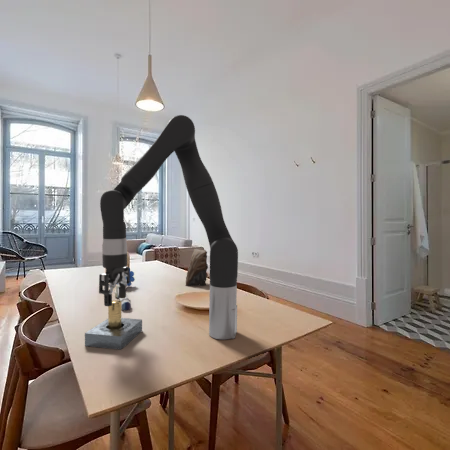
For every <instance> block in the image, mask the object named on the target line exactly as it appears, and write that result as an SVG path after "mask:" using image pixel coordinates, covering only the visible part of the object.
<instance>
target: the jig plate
mask: <svg viewBox="0 0 450 450" xmlns="http://www.w3.org/2000/svg"><path fill="white" fill-rule="evenodd" d="M142 331H143V319H139V318H127V317H121V328H119V329H108V318H106V319H105V320H103V321H102V322H100V323H98V324H97V325H96V326H93V328H92V327H91V329H89V330H87V331H86V332H84V346H85V347H92V348H99V349H102V348H103V349H113V350H121V351H122V349H123V348H125V347H126V346H127V345H128V344H129V343H130V342H131V341H132V340H133V339H135V338H136V337H138V335H140V333H142Z"/></svg>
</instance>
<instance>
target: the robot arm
mask: <svg viewBox="0 0 450 450" xmlns="http://www.w3.org/2000/svg"><path fill="white" fill-rule="evenodd" d="M195 134H196V128H195V123H194V121H193V120H192V118H190V117H189V116H187V115H183V114H179V115H175V116H173V117H171V119H170V120H169V121H168V122H167V124H166V125H165V127H164V128H163V129H162V131H161V133H160V134H159V136H158V137H157V138H156V140H155V141H154V142H153V143H152V145H151V146H150V147H149V148H148V150H146V152H145V153H143V155H142V156H141V157H140V158H139V159H138V160H137V161H136V162H135V163H134V164H133V165H132V166H131V167H130V168H129V169H128V171H126V172H125V173H124V174H123V176H121V179H120V182H119V183H118V184H117V185H116V186H115V187H114V188H113V189H109V190H106V191H104V192H103V193H102V195H101V196H100V199H99V200H100V201H99V202H100V203H99V204H100V205H99V207H100V214H101V219H102V245H101V246H102V247H101V248H102V249H101V250H102V256H101V257H102V267H103V268H104V269H105V273H100V274H99V277H98V294H101V295H103V299H104V300H103V305H104V307H108V306H111V305H112V301H113V294H112V293H113V290H114V289H116V286H117V283H118V285H119V286H120V287H119V298H125V297H126V294H127V287H128V286H127V284H129V283H130V276H129V268H130V267H129V266H128V242H127V226H126V225H127V224H126V222H125V216H124V215H125V209H126V208H127V207H128V206H129V204H130V203H132V201H133V200H134V198H135V196H136V195H137V194H139V192H140V191H141V190H142V189H144V187H146V186H147V184H148V183H149V182H150V181H151V180H152V179H153V178H154V176H155V175H157V173H158V171H159V170H160V169H161V168H162V166H163V164H164V163H165V161H167V159H168V158H169V157H170V156H171V155H172V154H173V153H175V155H176V157H177V159H178V162H179V165H180V166H181V167H180V168H181V172H182V175H183V181H184V183H185V187H186V190H187V193H188V196H189V198H190V201H191V204H192V206H193V208H194V211H195V213H196V215H197V216H198V219H200V222H201V224H202V225H203V228H204V230H205V233H206V237H207V240H208V244H209V248H210V250H209V303H208V304H209V307H208V308H209V309H208V310H209V311H208V313H209V314H208V315H209V316H208V317H209V318H208V319H209V320H208V323H209V324H208V334H209V336H210V337H211V338H213V339H215V340H230V339H235V338H236V335H237V331H238V304H237V298H238V297H237V293H238V292H237V291H238V288H237V285H238V275H239V274H238V271H239V270H238V269H239V267H238V266H239V250H238V246H237V244H236V243H235V241H234V240H233V238H232V236H231V234H230V232H229V229H228V227H227V225H226V222H225V220H224V216H223V210H222V205H221V202H220V198H219V195H218V192H217V189H216V186H215V184H214V181H213V178H212V176H211V175H210V172H209V171H208V169H207V167H206V166H205V164H204V162H203V161H202V158H201V156H200V153H199V149H198V146H197V142H196V135H195ZM125 277H127V280H126V278H125ZM119 298H118V299H119Z"/></svg>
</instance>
